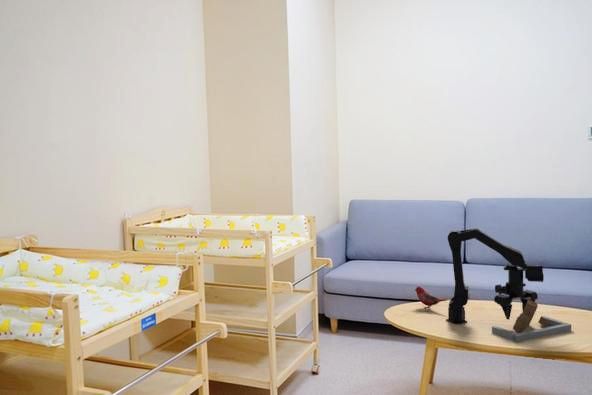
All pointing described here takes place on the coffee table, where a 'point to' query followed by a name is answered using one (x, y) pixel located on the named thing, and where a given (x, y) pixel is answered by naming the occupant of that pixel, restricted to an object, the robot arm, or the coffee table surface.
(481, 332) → the coffee table surface
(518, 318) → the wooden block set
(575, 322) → the coffee table surface
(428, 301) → the decorative bird figurine
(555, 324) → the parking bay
